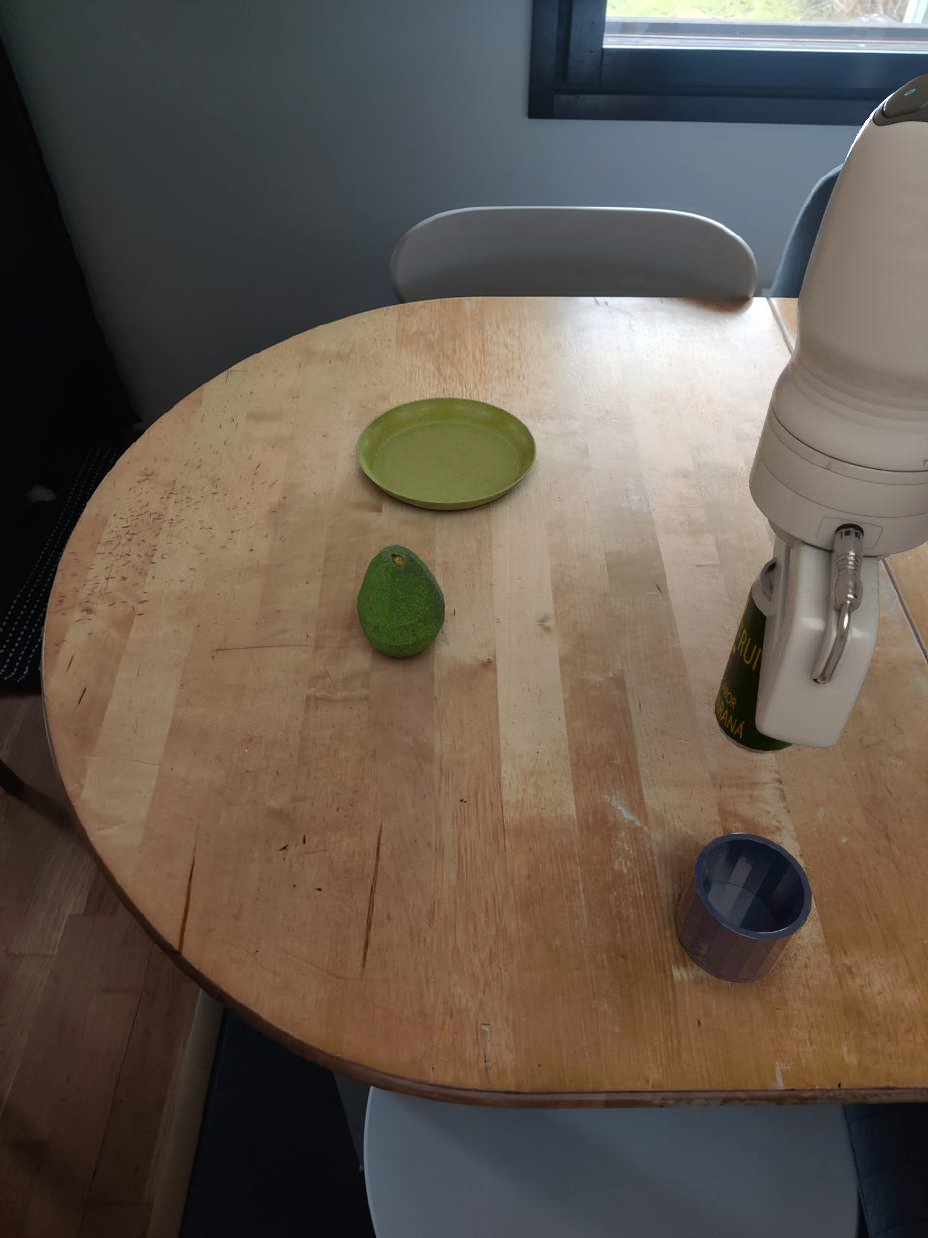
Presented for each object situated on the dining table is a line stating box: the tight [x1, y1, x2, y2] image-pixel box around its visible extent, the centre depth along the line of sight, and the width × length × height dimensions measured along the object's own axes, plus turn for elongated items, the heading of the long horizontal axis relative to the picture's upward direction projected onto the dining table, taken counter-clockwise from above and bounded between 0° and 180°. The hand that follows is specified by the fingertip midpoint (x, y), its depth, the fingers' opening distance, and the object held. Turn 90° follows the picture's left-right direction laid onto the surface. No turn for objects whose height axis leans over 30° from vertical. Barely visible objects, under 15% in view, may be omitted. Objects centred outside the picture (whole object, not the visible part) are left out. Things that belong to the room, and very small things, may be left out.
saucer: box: [355, 396, 537, 511], centre depth 100 cm, size 21×21×3 cm
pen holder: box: [675, 832, 813, 983], centre depth 59 cm, size 8×8×7 cm
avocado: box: [356, 544, 446, 659], centre depth 77 cm, size 8×8×12 cm
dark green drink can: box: [714, 557, 793, 755], centre depth 49 cm, size 5×5×12 cm
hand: (779, 664), depth 50 cm, fingers closed on dark green drink can, 5 cm apart
